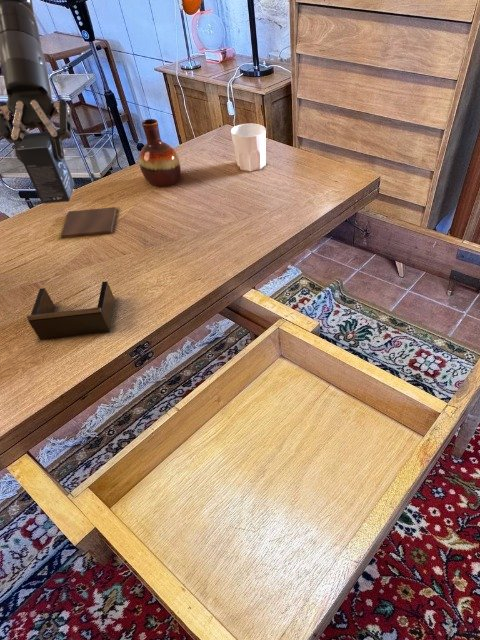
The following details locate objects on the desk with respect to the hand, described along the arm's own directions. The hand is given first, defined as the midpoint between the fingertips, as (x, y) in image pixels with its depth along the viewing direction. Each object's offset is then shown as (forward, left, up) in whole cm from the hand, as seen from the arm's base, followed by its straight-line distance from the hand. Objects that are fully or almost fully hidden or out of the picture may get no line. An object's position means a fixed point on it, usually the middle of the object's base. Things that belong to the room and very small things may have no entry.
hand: (41, 161), depth 86 cm
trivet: (-1, +17, -22) cm, 28 cm away
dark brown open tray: (+2, -21, -22) cm, 30 cm away
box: (0, +2, -7) cm, 8 cm away
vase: (+17, +38, -22) cm, 47 cm away
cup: (+43, +43, -22) cm, 65 cm away
